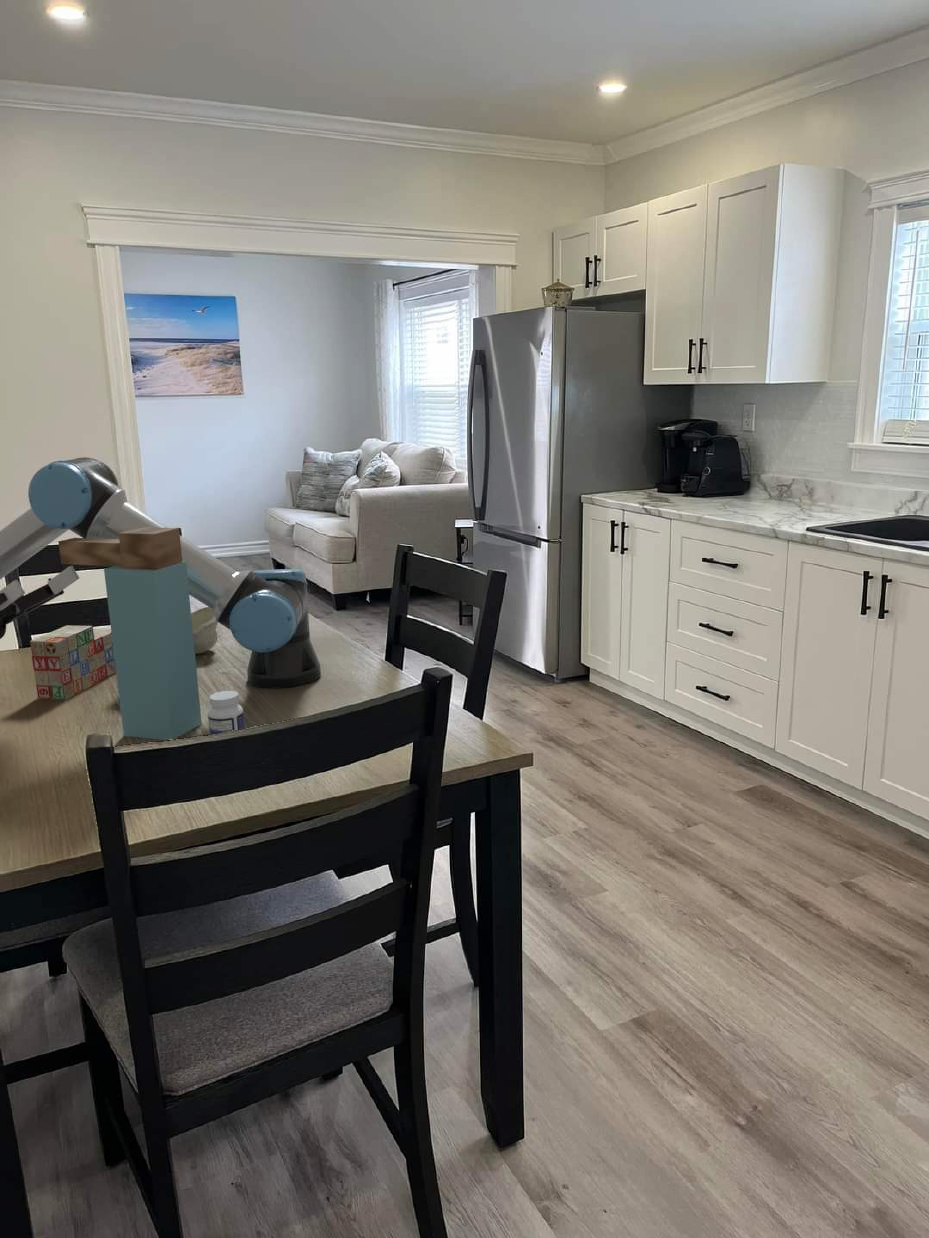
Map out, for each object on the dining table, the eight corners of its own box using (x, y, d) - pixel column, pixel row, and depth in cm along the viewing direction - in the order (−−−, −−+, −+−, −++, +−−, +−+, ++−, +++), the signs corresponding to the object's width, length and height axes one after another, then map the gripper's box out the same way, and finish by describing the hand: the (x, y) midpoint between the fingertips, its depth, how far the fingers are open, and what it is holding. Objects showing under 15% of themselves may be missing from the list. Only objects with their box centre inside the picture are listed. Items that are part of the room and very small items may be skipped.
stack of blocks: (98, 668, 206) (91, 614, 203) (123, 669, 205) (117, 615, 202) (37, 699, 186) (28, 640, 183) (65, 700, 185) (57, 641, 182)
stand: (201, 723, 169) (185, 561, 162) (172, 740, 161) (154, 570, 154) (155, 718, 172) (137, 559, 165) (123, 735, 164) (103, 568, 157)
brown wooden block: (182, 562, 161) (179, 528, 160) (157, 569, 155) (154, 534, 153) (82, 558, 168) (78, 525, 166) (55, 565, 161) (50, 531, 160)
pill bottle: (232, 742, 160) (227, 687, 157) (253, 749, 156) (249, 693, 154) (204, 752, 155) (199, 696, 153) (225, 760, 152) (220, 702, 150)
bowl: (159, 649, 220) (155, 608, 218) (219, 641, 226) (215, 601, 224) (168, 664, 207) (163, 621, 205) (231, 656, 213) (228, 613, 210)
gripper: (35, 631, 187) (105, 583, 179) (-69, 666, 164) (6, 613, 156) (15, 599, 186) (85, 549, 178) (-92, 629, 163) (-18, 574, 155)
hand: (48, 579), depth 167 cm, fingers open, 13 cm apart
